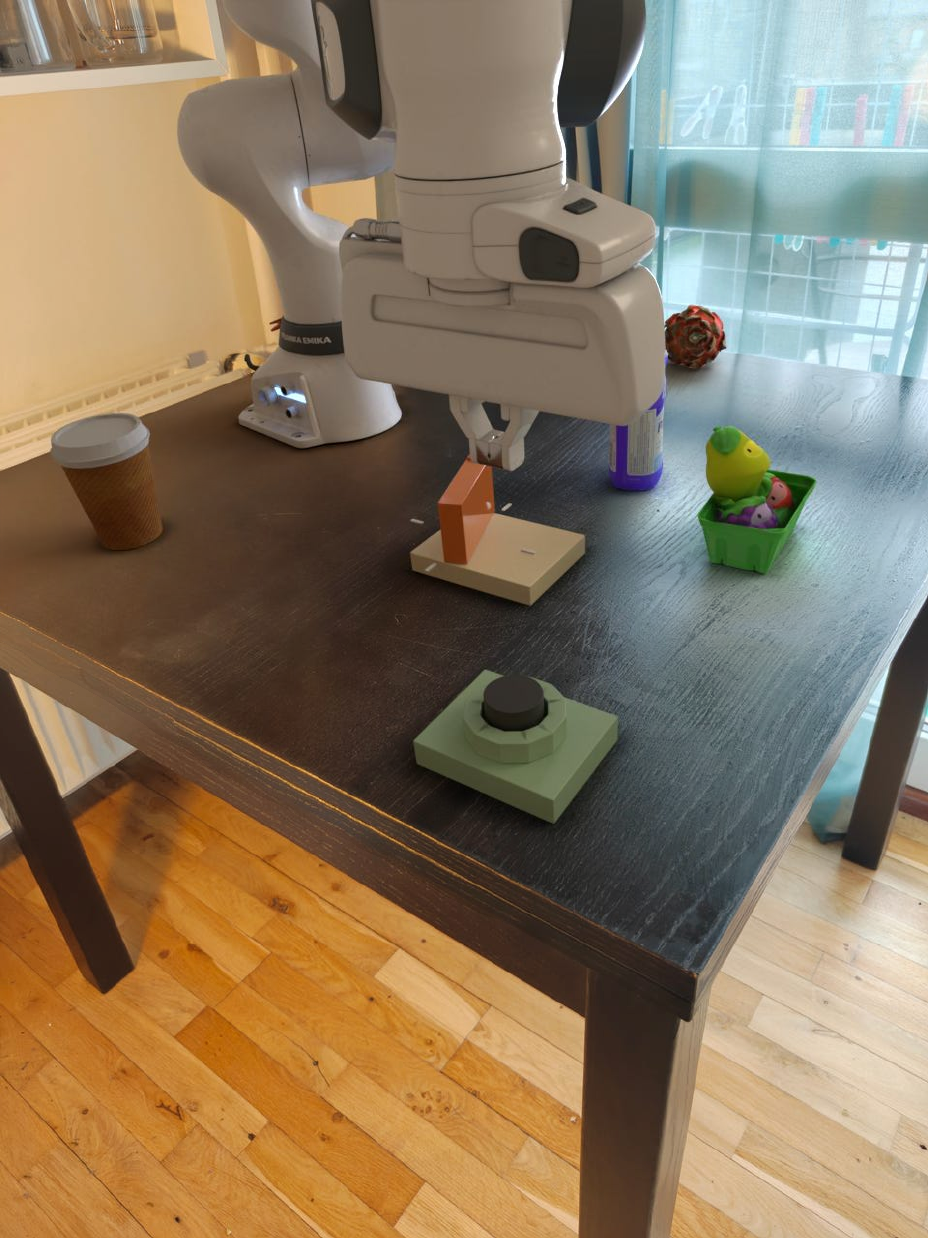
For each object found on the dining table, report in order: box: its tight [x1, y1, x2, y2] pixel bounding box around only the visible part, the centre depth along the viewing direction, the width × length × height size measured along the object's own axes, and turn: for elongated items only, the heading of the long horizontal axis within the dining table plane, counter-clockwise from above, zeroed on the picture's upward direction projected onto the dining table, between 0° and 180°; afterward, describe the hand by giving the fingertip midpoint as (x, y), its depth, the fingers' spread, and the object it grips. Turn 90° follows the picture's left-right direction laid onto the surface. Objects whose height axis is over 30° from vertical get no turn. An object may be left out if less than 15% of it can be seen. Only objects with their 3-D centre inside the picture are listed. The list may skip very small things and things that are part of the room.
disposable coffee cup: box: [49, 412, 163, 551], centre depth 90 cm, size 10×10×12 cm
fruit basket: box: [697, 425, 818, 575], centre depth 78 cm, size 11×9×11 cm
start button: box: [483, 674, 544, 732], centre depth 58 cm, size 4×4×2 cm
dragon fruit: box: [664, 304, 727, 370], centre depth 120 cm, size 8×8×12 cm
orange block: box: [437, 453, 496, 564], centre depth 81 cm, size 10×2×6 cm, turn 164°
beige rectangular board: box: [409, 502, 586, 606], centre depth 83 cm, size 17×14×2 cm
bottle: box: [608, 353, 669, 491], centre depth 89 cm, size 7×6×17 cm
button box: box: [412, 669, 619, 825], centre depth 60 cm, size 11×9×4 cm
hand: (497, 463), depth 54 cm, fingers closed
